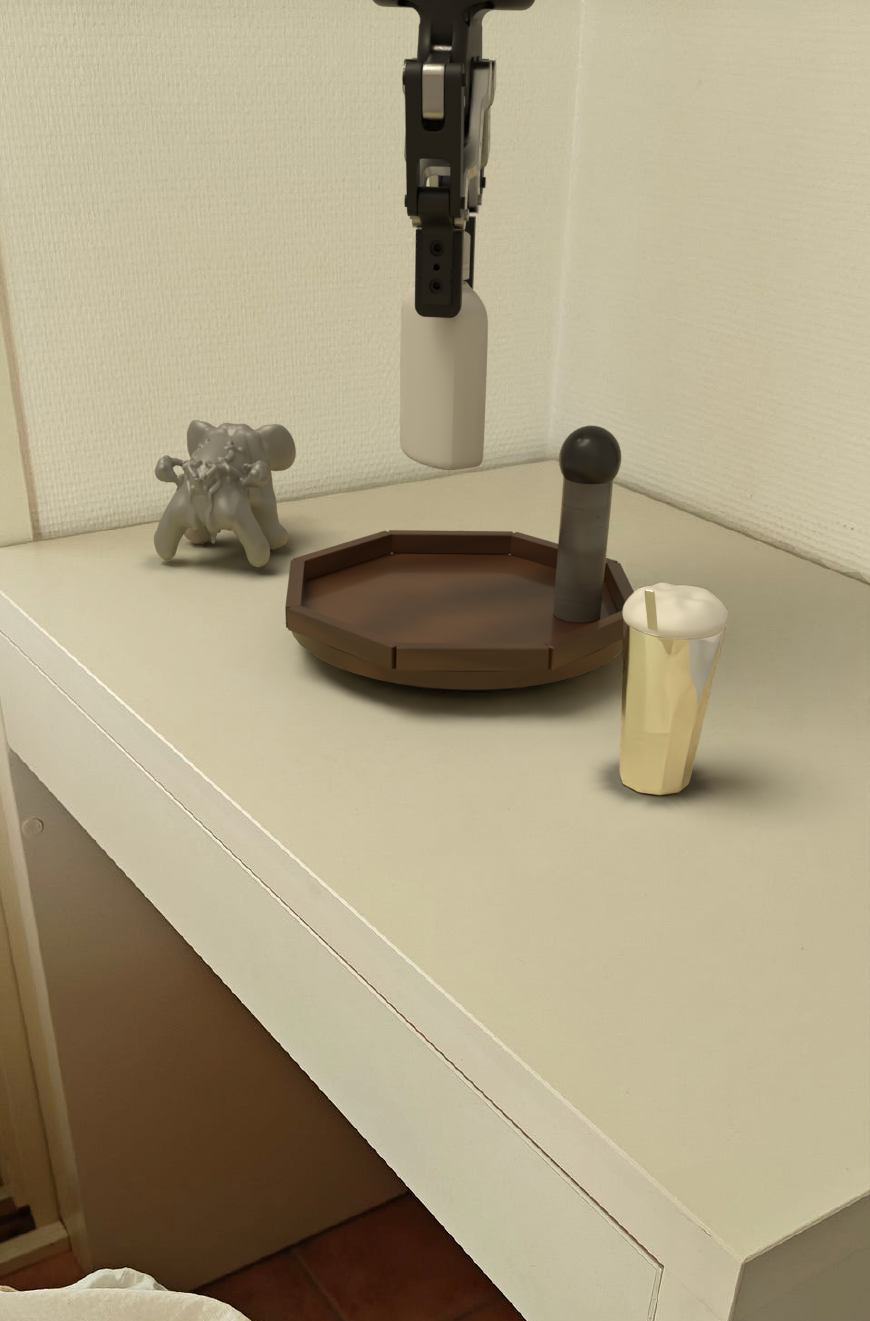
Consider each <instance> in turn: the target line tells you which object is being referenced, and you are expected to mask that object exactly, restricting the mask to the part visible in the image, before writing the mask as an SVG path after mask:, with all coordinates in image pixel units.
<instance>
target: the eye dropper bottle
mask: <svg viewBox="0 0 870 1321" xmlns="http://www.w3.org/2000/svg"><path fill="white" fill-rule="evenodd" d="M455 230H459V229H455ZM469 265H470V235H469V233H467V232H465V231H464V249H463V280H466V279H469ZM488 318H489V317H488V312H487V308H486V306H485V304H484V302H483V300H482V298H481V297H480V296H479V295H478V293H477V292H476V291H475V290H474V288H473V289H472V288H471V287H470V286H469V285H468V283H467V282H466V281H462V307H461V310H460V312H459V313H458V315H457V316H455V317H453V318H437V317H423V316H420V315H419V314H418V313H417V312H416V310H415V286H413V287H411V288H409V290H408V291H407V292H406V293H405V294H404V296H403V299H402V302H401V308H400V349H399V351H400V352H399V353H400V354H399V355H400V356H399V357H400V358H399V363H400V364H399V445H400V448H401V451H402V452H403V454H404V455H405V456H406V457H408V458H409V459H410V460H412V461H414V462H416V463H418V464H420V465H424V466H427V467H429V468H434V469H437V470H441V471H442V470H443V471H456V470H464V469H471V468H476V467H480V466H481V464H482V463H483V460H484V452H485V450H484V448H485V428H486V427H485V423H486V399H487V397H486V396H487V374H488V373H487V372H488V371H487V369H488V341H489V340H488V338H489V320H488Z"/></svg>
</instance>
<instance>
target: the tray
mask: <svg viewBox="0 0 870 1321" xmlns="http://www.w3.org/2000/svg"><path fill="white" fill-rule="evenodd" d="M621 464H622V450H621V446H620V444H619V442H618V440H617V438H616V437H615V435H614V434H613V433H612V432H611V431H609V430H608V429H606V428H605V427H602V426H598V425H585V426H581V427H579V428H577V429H575V430H573V431H572V432H570V433H569V435H568V436H567V437H566V438H565V439H564V441H563V443H562V444H561V447H560V450H559V455H558V466H559V470H560V472H561V475H562V477H563V478H562V489H561V490H562V491H561V505H560V515H559V516H560V517H559V529H558V542H553V541H549V540H546V539H544V538H540V537H536V536H532V535H529V534H525V533H523V532H519V531H515V532H513V531H511V530H423V529H421V530H414V529H413V530H411V529H408V530H407V529H390V530H382V531H379V532H375V533H373V534H369V535H365V536H363V537H359V538H355V539H352V540H349V541H346V542H342V543H339V544H337V545H333V546H329V547H326V548H322V549H320V550H316V551H313V552H311V553H310V552H309V553H306V554H303V555H300V556H297V557H293V558H292V559H291V560H290V564H289V573H288V582H287V588H286V598H285V607H284V608H285V610H284V612H285V613H284V614H285V628H286V629H287V630H288V631H290V632H291V633H292V636H293V638H294V639H295V640H296V642H297V643H298V644H299V645H300V646H301V647H302V648H303V649H305V650H306V651H307V652H308V653H309V654H311V655H313V656H314V657H315V658H318V659H319V660H321V661H323V662H325V663H327V664H330V665H332V666H333V667H336V668H338V669H341V670H344V671H346V672H349V673H353V674H356V675H359V676H363V677H366V678H370V679H374V680H378V681H382V682H387V683H390V682H392V683H391V684H393V683H397V684H404V685H411V686H418V687H427V688H439V689H458V690H489V689H506V688H519V687H524V688H528V687H533V686H540V685H545V684H551V683H555V682H560V681H564V680H568V679H571V678H575V677H578V676H581V675H584V674H586V673H590V672H591V671H594V670H596V669H598V668H600V667H602V666H604V665H605V664H607V663H609V662H611V661H612V660H613V659H614V658H617V657H618V655H619V654H621V652H623V606H624V604H625V602H626V601H627V599H628V598H629V597H630V596H631V595H632V594H633V593H634V592H635V590H634V588H633V586H632V585H631V583H630V580H629V578H628V577H627V574H626V572H625V570H624V568H623V566H622V564H621V563H620V562H619V561H618V560H615V559H612V558H608V557H607V550H608V540H609V530H610V520H611V511H612V499H613V489H614V480H615V479H616V477H617V475H618V474H619V471H620V469H621ZM397 684H396V685H397ZM519 689H520V688H519Z"/></svg>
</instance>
